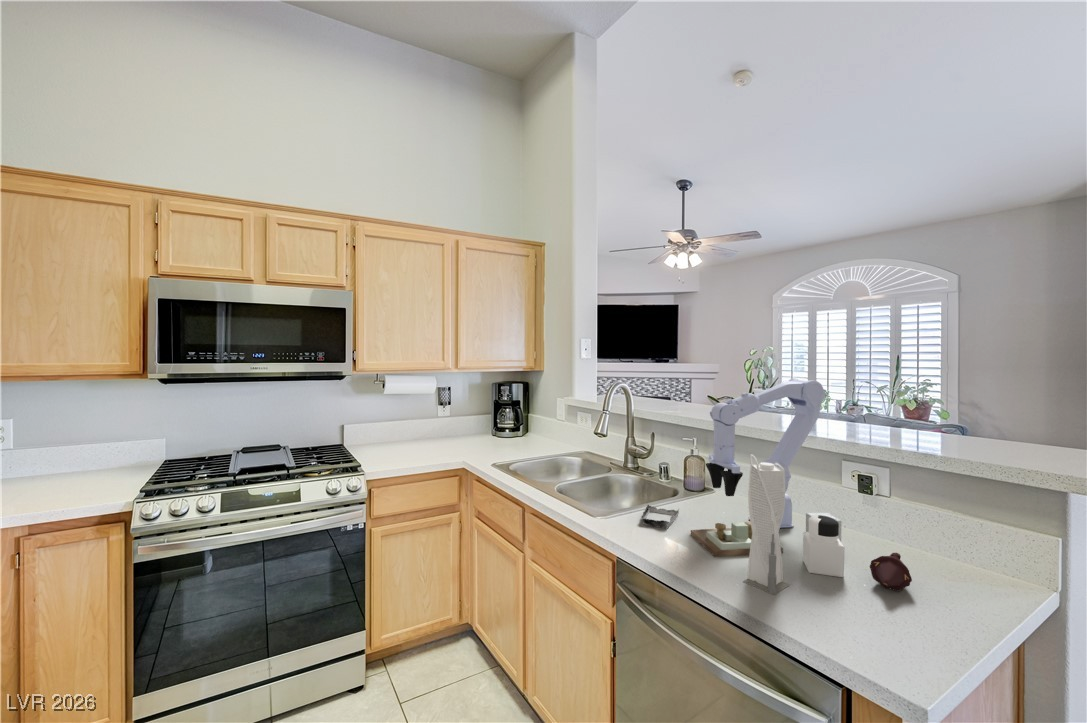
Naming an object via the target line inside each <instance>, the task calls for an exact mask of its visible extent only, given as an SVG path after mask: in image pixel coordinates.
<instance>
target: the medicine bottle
mask: <svg viewBox="0 0 1087 723" xmlns="http://www.w3.org/2000/svg"><path fill="white" fill-rule="evenodd" d="M802 535H803V537H802V540H803V541H802V542H803V543H802V560H803V563H804V565H805V567H806V569H807V572H808V573H809V574H815V575H822V576H830V577H838V578H844V577H845V549H846V548H845V546H844V545H843V543H842V540H841V541H840V540H839V523H838V522H837V521H836V520H835V519H833V518H831V517H828V516H822V515H815V516H811V517H810V518H809V532H806V531H803V534H802Z"/></svg>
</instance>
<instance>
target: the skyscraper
mask: <svg viewBox="0 0 1087 723" xmlns="http://www.w3.org/2000/svg"><path fill="white" fill-rule="evenodd" d="M753 459H754V462H755V464H753ZM749 461H750V468H749V478H748V490H747V491H748V494H747V495H748V499H747V500H748V515H749V517H750V520H749V522H751V528H752V538H751V546H750V555H749V557H748V566H747V578H746V579H744V580H743V581H742V583H744V584H747V585H750V586H751V587H754V588H756V589H759V590H761V591H763V592H766V593H769V594H770V595H773V596H775V595H777V594H778V593H780V592H782V591H783V590H785V589H786V588H788V587H790V586H791V584H790V583H788V582H785V581H784V578H783V577H784V576H783V574H784V573H783V561H782V560H783V559H782V553H781V548H780V547H781V542H780V535H779V532H780V526H781V522H782V518H783V513H784V507H785V493H786V492H785V471H784V468H783V467H782V466H781V465H780V464H778V463H775V464H772V463H766V462H762V461H761V462H762V463H761V462H758V459H757V457H756V456H755V455H754V454H753V453H751V454H750V455H749ZM777 465H778V466H779V467H780V468H781V469H782V470H781V469H780V468H778V467H777Z"/></svg>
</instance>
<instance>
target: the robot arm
mask: <svg viewBox="0 0 1087 723" xmlns="http://www.w3.org/2000/svg"><path fill="white" fill-rule="evenodd" d="M784 398H787V399H788V400H789V402H790V404H792V406H793V407H794V410H795V415H794V417H793V419H792V420H791V422H790V423H789V425H788V426H787V428H786V430H785V432H784V434H783V435H782V437H781V439H780V440H779V442H778V443H777V445H776V447H775V448H774V450H773V452H772V454H771V455H770V457H769V458H767V459H765V460H763V461H761V462H760V463H762V462H766V463H772V464H775V463H778V464H780V465H781V466H782V467H783V468H784V471H785V507H784V513H783V518H782V522H781V526H780V528H781V529H782V528H784V529H785V528H794V525H793V524H792V523H793V503H792V499H791V497H790V495H789V494H788V493H786V492H787V491H788V488H789V482H790V480H791V478H792V474H791V471H790V469H789V468H790V466H791V465H792V463H793V462H794V459H795V458H796V456H797V455H798V453H799V451H800V449H801V448H802V446H803V444H804V442H805V441H806V439H807V437H809V435H810V432H811V431H812V429H813V428H814V426H815V424H816V423H817V421H818V420H819V417H820V414H821V406H822V403H823V401H824V400H825V398H826V393H825V390H824V387H823V384H822V383H821V382H819V381H817V380H807V379H798V378H790V379H788V380H785V381H784V380H783V381H782V382H780V383H778V384H777V385H774V386H772V387H770V388H767V389H766V390H763V391H762V392H759V393H756V394H753V393H751V392H742V393H741V395H740V396H738V397H735V398H733V399H731V398H728V399H726V402H725V403H724V402H718V403H715V404H714V406H712V408H711V411H710V412H709V416H710V418H711V419H712V421H713V443H712V444H713V451H712V453H713V454H710V453H709V454H708V462H705V466H706V468H707V470H708V473H709V476H710V480H711V485H712V488H713V489H720V488H722V482H723V485H724V493H725V496H726V497H734V496H735V493H736V491H737V490H736V489H737V486H738V484H739V482H740V480H741V478H742V477H743V475H744V474H743V472H741V466H740V465H738V463H737V462H736V460H735V449H736V448H735V447H736V446H735V444H736V443H735V442H736V441H735V440H736V423H738V422H739V420H740V419H742V418H745V417H747V416H750V415H753V414H754V413H757V412H759V411H760V409H761V406H764V405H767V404H769V403H773V402H775V401H778V400H781V399H784ZM777 467H778V468H780V467H779V466H778V465H777ZM725 469H727V470H725ZM780 469H781V468H780ZM781 470H782V469H781ZM748 520H749V521H750V516H749V517H748Z"/></svg>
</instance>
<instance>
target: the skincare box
mask: <svg viewBox="0 0 1087 723" xmlns="http://www.w3.org/2000/svg"><path fill="white" fill-rule="evenodd" d="M815 515H822V516H828V517H831V518H833V519H835V520H836V521H837V522H838V523H839V540H840V541H841V542H842V522H843V521H842V519H840V518H837V517H835V516H833V515H832V514H830V513H829V512H808V513H807V512H806V513H805V532H809V518H810V517H811V516H815Z"/></svg>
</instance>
